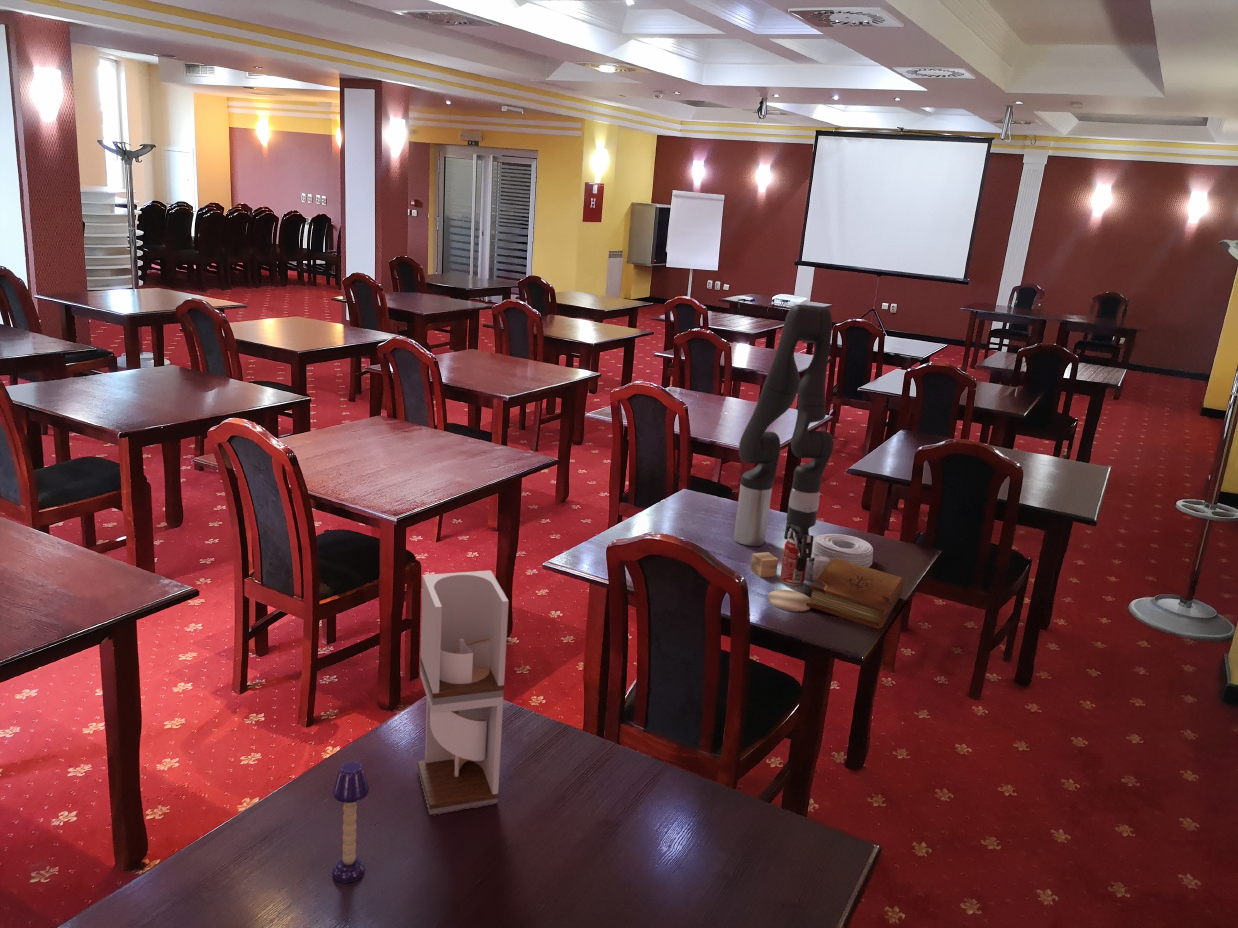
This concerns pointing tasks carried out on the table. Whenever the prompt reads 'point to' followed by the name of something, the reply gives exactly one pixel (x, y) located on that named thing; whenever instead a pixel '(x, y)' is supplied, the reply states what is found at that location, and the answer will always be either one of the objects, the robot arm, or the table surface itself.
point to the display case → (462, 687)
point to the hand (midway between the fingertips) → (794, 563)
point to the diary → (856, 593)
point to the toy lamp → (350, 819)
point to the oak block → (764, 564)
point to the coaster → (789, 600)
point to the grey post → (819, 566)
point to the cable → (842, 549)
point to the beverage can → (791, 565)
